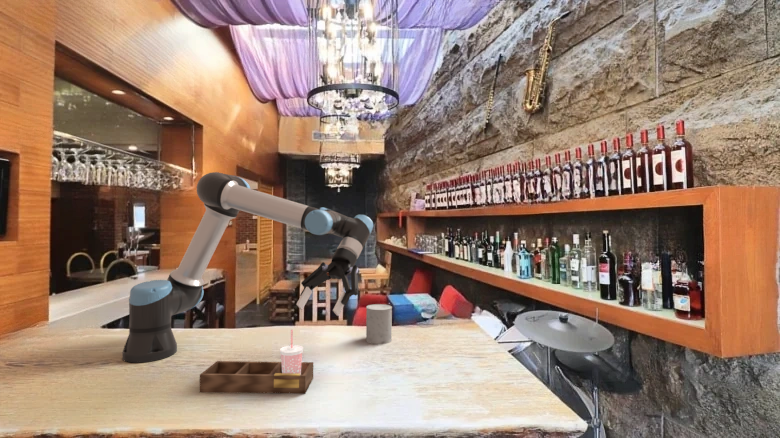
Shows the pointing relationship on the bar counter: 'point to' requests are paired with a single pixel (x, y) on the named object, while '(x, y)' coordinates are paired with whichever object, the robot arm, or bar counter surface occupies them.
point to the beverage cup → (291, 357)
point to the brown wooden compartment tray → (255, 378)
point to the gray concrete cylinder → (379, 324)
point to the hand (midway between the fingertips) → (316, 310)
